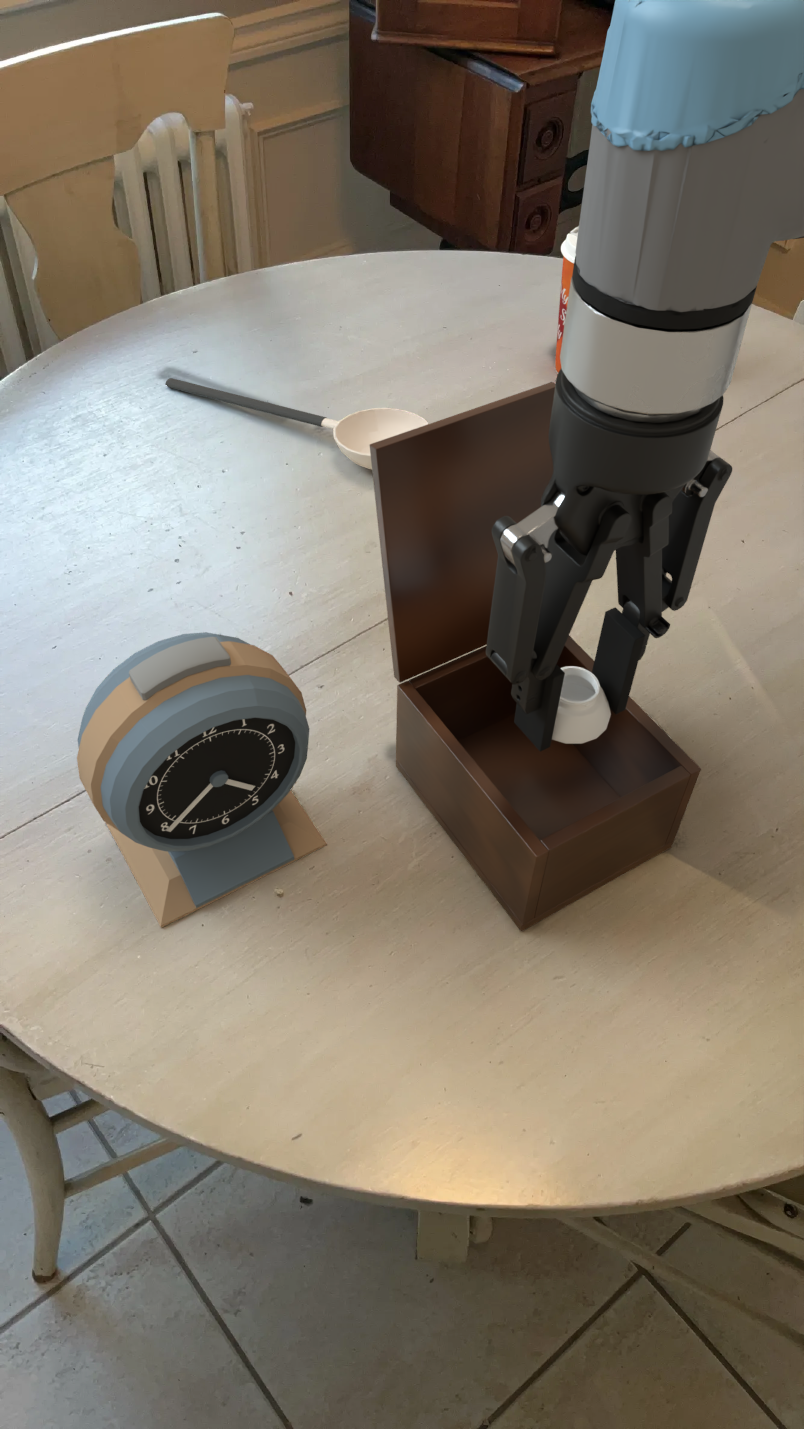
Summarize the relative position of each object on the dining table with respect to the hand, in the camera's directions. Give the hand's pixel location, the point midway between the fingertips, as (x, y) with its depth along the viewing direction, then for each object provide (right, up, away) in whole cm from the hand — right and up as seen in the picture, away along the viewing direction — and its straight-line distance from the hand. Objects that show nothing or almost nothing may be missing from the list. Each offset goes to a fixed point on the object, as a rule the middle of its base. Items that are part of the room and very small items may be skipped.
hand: (570, 715), depth 65 cm
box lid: (-6, +11, +2) cm, 12 cm away
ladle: (-21, +28, +40) cm, 53 cm away
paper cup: (+9, +37, +48) cm, 61 cm away
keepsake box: (-1, -6, +10) cm, 12 cm away
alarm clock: (-23, -8, +8) cm, 26 cm away
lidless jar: (0, 0, +1) cm, 0 cm away
